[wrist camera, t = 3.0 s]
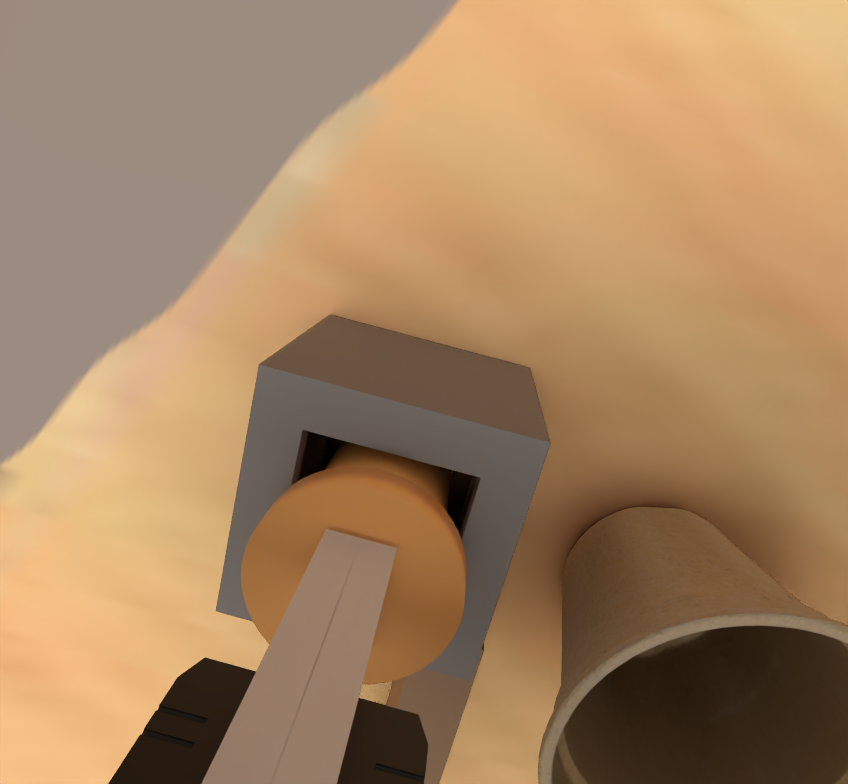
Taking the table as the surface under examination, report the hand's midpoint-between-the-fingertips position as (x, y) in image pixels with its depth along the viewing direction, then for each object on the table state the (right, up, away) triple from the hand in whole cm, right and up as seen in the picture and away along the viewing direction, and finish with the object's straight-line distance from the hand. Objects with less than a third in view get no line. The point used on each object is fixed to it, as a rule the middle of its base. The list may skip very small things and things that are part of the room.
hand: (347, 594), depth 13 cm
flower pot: (+10, -3, +10) cm, 14 cm away
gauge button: (+1, +2, +8) cm, 8 cm away
